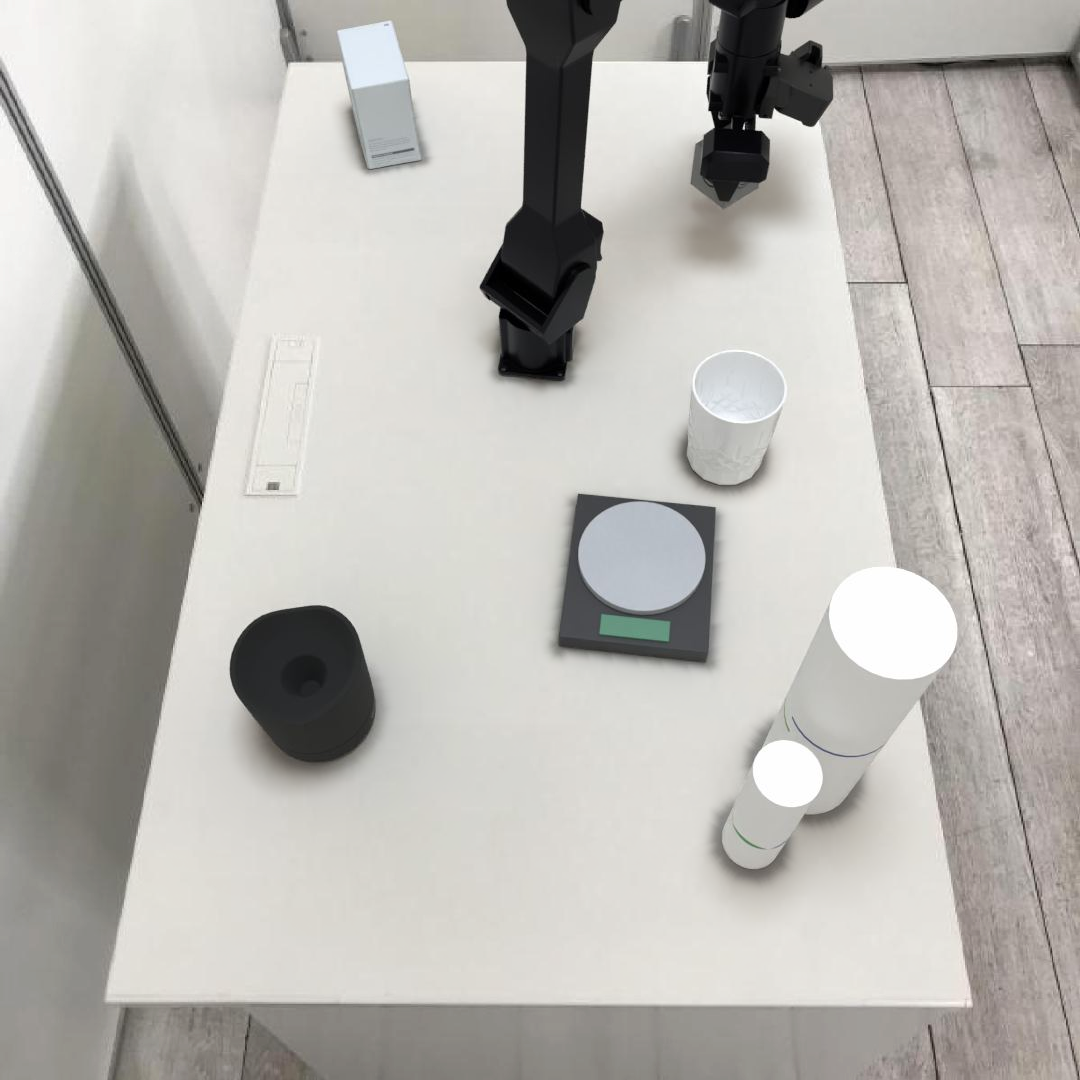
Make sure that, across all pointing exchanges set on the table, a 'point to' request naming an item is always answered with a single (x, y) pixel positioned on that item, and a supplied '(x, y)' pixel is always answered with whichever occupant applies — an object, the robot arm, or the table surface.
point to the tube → (771, 803)
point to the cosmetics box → (379, 94)
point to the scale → (639, 578)
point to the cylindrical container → (864, 673)
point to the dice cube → (707, 186)
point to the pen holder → (305, 681)
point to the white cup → (733, 414)
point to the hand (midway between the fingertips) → (725, 177)
